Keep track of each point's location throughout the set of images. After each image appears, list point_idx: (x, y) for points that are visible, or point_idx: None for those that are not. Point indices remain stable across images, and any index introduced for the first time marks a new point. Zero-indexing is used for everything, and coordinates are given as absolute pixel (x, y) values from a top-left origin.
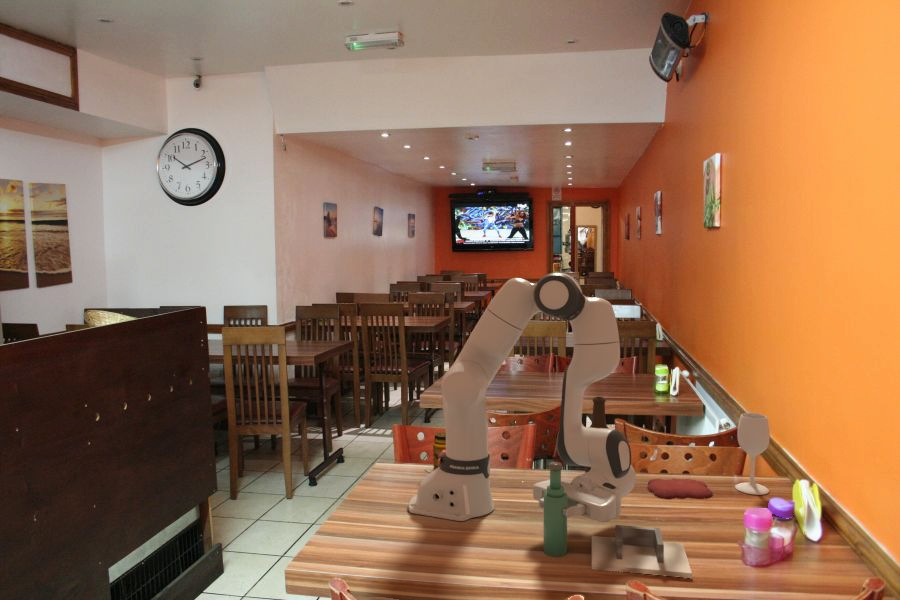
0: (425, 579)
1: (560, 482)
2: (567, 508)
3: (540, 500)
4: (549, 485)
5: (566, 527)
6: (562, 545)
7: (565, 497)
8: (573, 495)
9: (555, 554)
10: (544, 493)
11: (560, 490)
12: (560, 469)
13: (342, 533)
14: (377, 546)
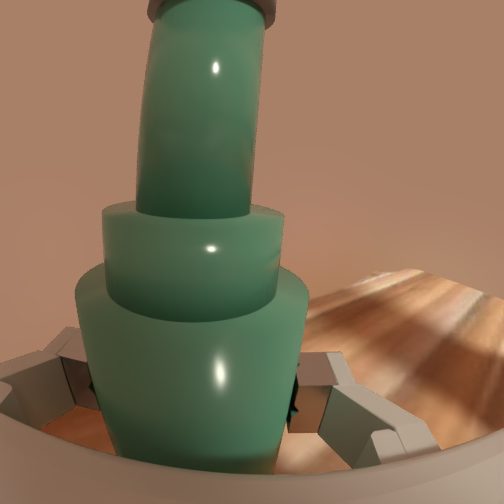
0: (318, 299)
1: (139, 140)
2: (76, 334)
3: (329, 352)
4: (278, 215)
5: None
6: None
7: (85, 273)
8: (41, 487)
9: None
10: (283, 270)
11: (123, 202)
12: (150, 17)
13: (487, 301)
14: (444, 307)
